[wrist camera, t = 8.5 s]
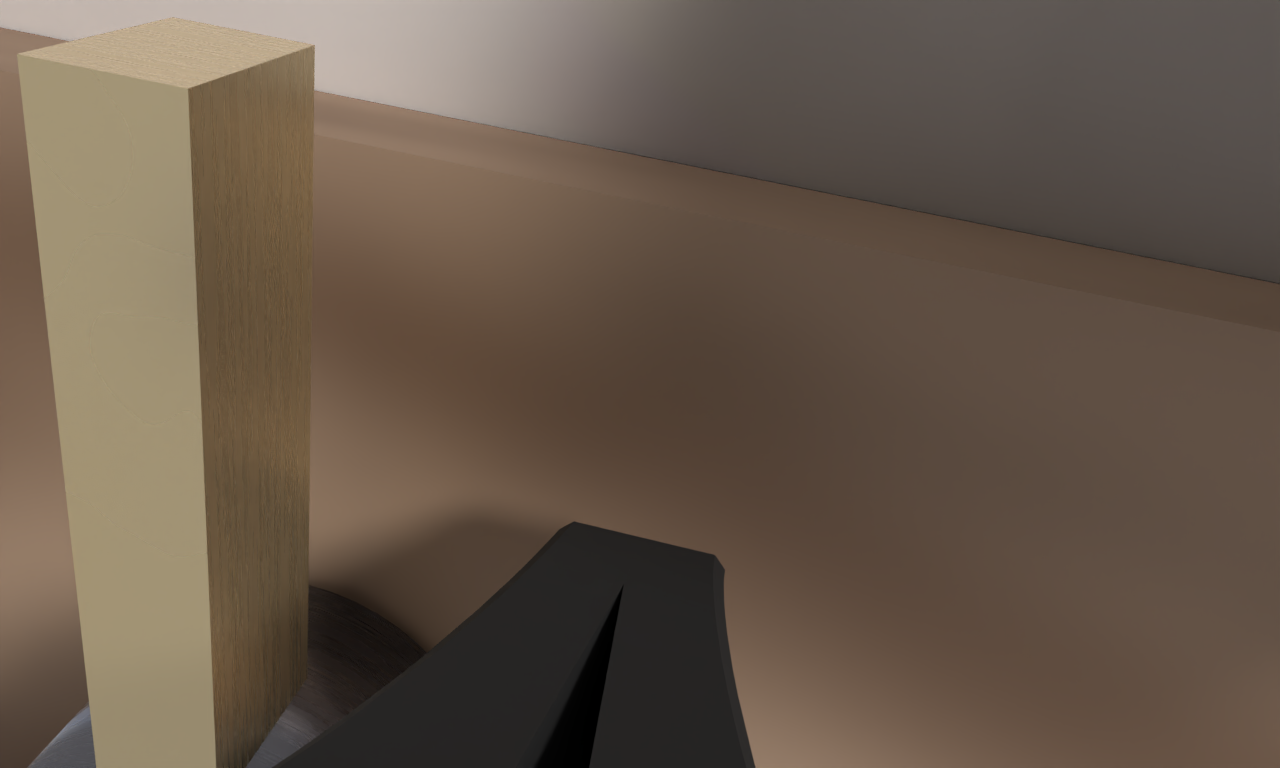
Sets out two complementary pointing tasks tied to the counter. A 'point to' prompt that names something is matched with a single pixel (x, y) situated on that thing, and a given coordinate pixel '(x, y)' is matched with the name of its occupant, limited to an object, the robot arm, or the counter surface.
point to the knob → (189, 397)
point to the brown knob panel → (748, 444)
